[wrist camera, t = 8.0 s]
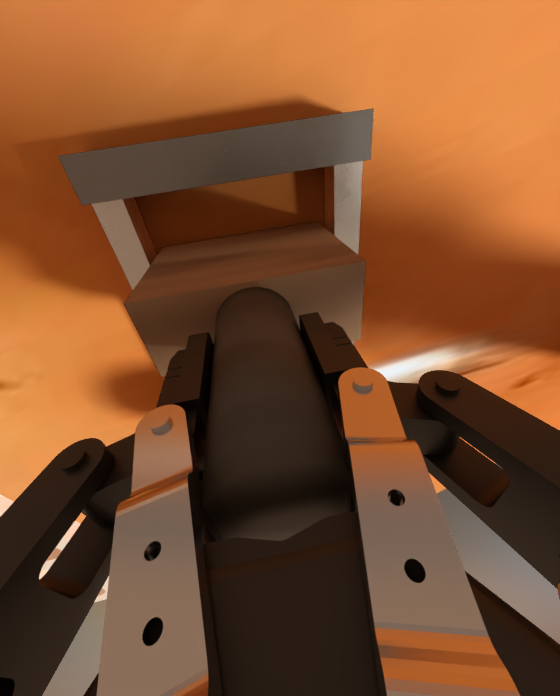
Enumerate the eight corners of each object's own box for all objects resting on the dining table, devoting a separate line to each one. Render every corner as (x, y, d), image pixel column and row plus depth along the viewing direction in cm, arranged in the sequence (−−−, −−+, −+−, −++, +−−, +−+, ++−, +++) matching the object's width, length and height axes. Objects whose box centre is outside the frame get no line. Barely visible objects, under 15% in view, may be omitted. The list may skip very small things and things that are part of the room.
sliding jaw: (319, 287, 21) (468, 513, 8) (186, 310, 20) (108, 593, 7) (316, 221, 18) (539, 402, 5) (162, 247, 17) (-27, 520, 5)
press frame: (343, 427, 32) (372, 497, 26) (219, 453, 31) (216, 531, 25) (351, 114, 15) (438, 89, 9) (85, 155, 15) (-27, 158, 8)
